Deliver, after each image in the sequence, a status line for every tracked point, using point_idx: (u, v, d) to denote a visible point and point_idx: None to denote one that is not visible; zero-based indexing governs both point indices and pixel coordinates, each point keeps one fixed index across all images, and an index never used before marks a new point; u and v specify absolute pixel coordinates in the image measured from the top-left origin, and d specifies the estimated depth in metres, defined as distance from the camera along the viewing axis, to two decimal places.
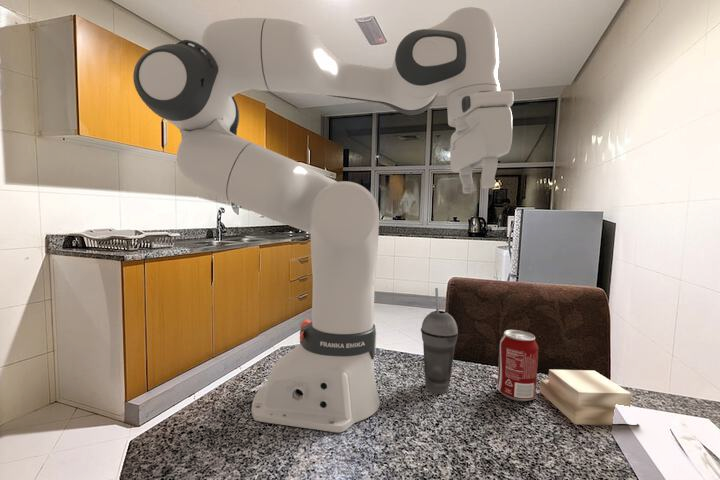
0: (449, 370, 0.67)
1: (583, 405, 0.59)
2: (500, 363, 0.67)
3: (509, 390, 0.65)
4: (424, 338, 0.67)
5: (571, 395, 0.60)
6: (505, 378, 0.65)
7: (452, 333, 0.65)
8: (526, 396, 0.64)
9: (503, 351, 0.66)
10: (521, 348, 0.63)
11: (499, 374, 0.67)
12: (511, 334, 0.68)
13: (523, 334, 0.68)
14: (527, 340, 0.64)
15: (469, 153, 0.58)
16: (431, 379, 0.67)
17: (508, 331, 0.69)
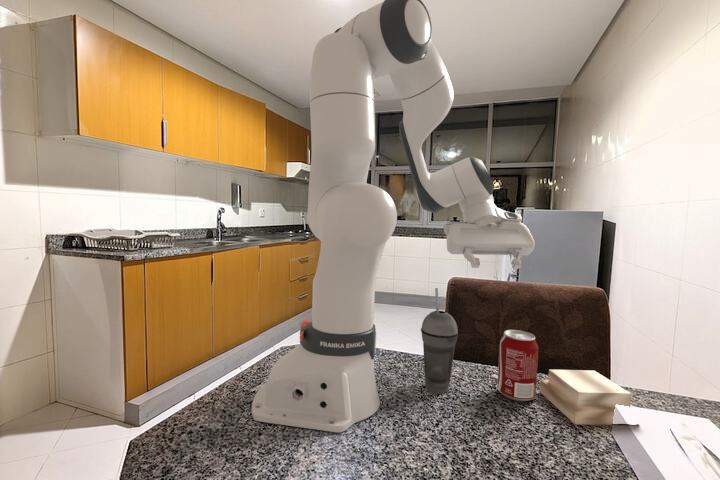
0: (449, 370, 0.67)
1: (583, 405, 0.59)
2: (500, 363, 0.67)
3: (509, 390, 0.65)
4: (424, 338, 0.67)
5: (571, 395, 0.60)
6: (505, 379, 0.65)
7: (452, 333, 0.65)
8: (526, 396, 0.64)
9: (503, 351, 0.66)
10: (521, 348, 0.63)
11: (499, 374, 0.67)
12: (511, 334, 0.68)
13: (523, 334, 0.68)
14: (527, 340, 0.64)
15: (501, 240, 0.81)
16: (431, 379, 0.67)
17: (508, 331, 0.69)
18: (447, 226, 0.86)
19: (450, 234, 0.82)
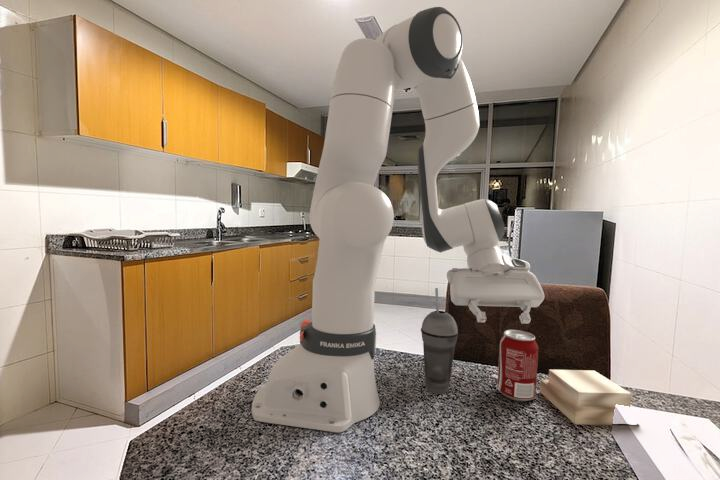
0: (449, 370, 0.67)
1: (583, 405, 0.59)
2: (500, 363, 0.67)
3: (509, 390, 0.65)
4: (424, 338, 0.67)
5: (571, 395, 0.60)
6: (505, 379, 0.65)
7: (452, 333, 0.65)
8: (526, 396, 0.64)
9: (503, 351, 0.66)
10: (521, 348, 0.63)
11: (499, 374, 0.67)
12: (511, 334, 0.68)
13: (523, 334, 0.68)
14: (527, 340, 0.64)
15: (509, 292, 0.76)
16: (431, 379, 0.67)
17: (508, 331, 0.69)
18: (451, 273, 0.81)
19: (454, 284, 0.77)
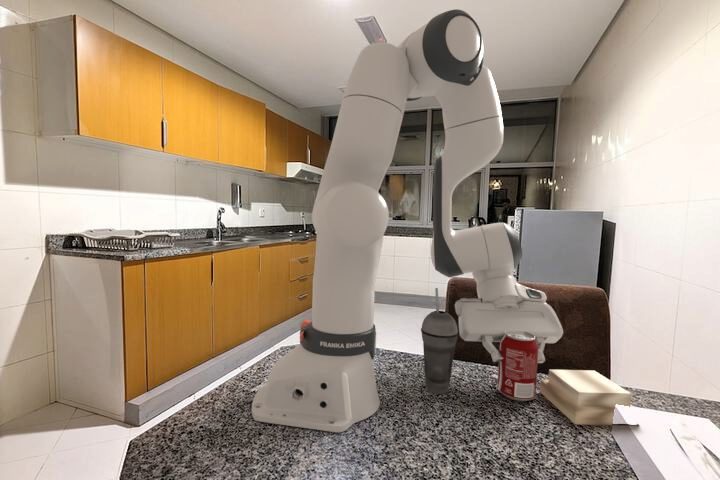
0: (449, 370, 0.67)
1: (583, 405, 0.59)
2: (500, 363, 0.67)
3: (509, 390, 0.65)
4: (424, 338, 0.67)
5: (571, 395, 0.60)
6: (505, 378, 0.65)
7: (452, 333, 0.65)
8: (526, 395, 0.64)
9: (503, 351, 0.66)
10: (521, 348, 0.63)
11: (499, 374, 0.67)
12: (511, 334, 0.68)
13: (523, 334, 0.68)
14: (527, 340, 0.64)
15: (524, 327, 0.69)
16: (431, 379, 0.67)
17: None
18: (459, 304, 0.74)
19: (463, 317, 0.70)
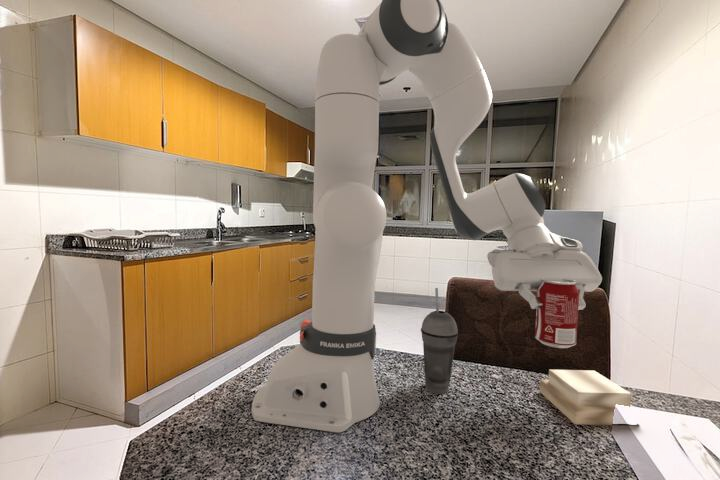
0: (449, 370, 0.67)
1: (583, 405, 0.59)
2: (539, 310, 0.65)
3: (549, 336, 0.63)
4: (424, 338, 0.67)
5: (571, 395, 0.60)
6: (545, 325, 0.63)
7: (452, 333, 0.65)
8: (568, 341, 0.62)
9: (542, 297, 0.64)
10: (562, 292, 0.61)
11: (537, 322, 0.65)
12: (549, 281, 0.65)
13: (561, 281, 0.66)
14: (568, 284, 0.62)
15: (561, 274, 0.67)
16: (431, 379, 0.67)
17: None
18: (492, 255, 0.71)
19: (499, 266, 0.68)
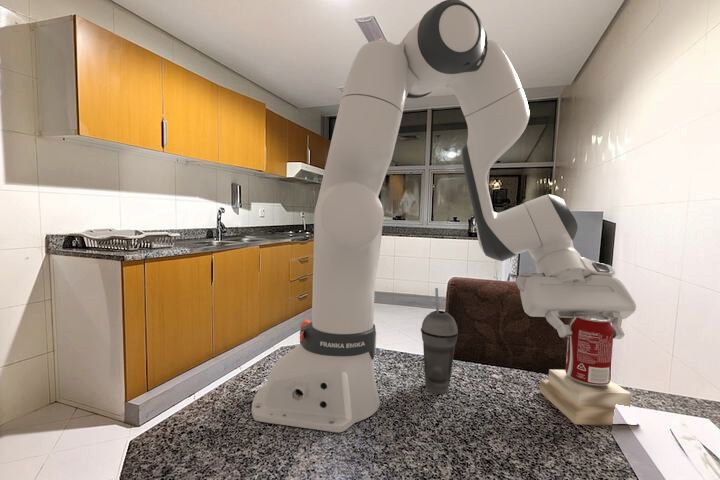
0: (449, 370, 0.67)
1: (583, 405, 0.59)
2: (570, 346, 0.63)
3: (581, 375, 0.61)
4: (424, 338, 0.67)
5: (571, 395, 0.60)
6: (577, 363, 0.61)
7: (452, 333, 0.65)
8: (601, 381, 0.60)
9: (574, 333, 0.62)
10: (596, 330, 0.59)
11: (569, 358, 0.63)
12: (581, 316, 0.64)
13: (594, 316, 0.64)
14: (602, 321, 0.60)
15: (594, 301, 0.65)
16: (431, 379, 0.67)
17: (577, 313, 0.65)
18: (521, 279, 0.69)
19: (529, 292, 0.66)
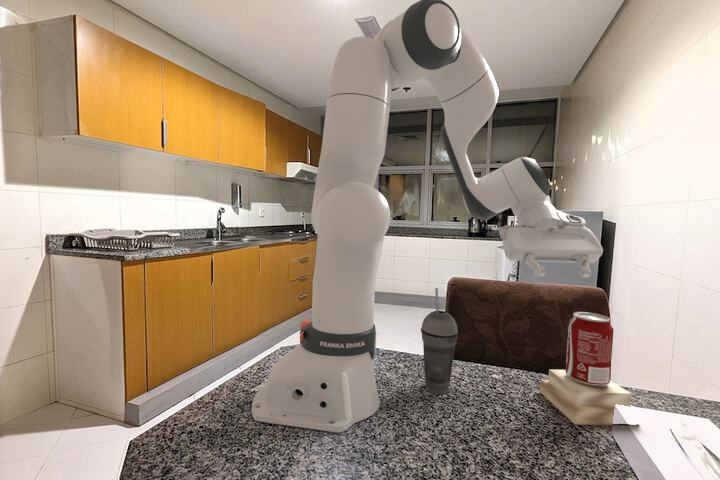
0: (449, 370, 0.67)
1: (583, 405, 0.59)
2: (570, 346, 0.63)
3: (581, 375, 0.61)
4: (424, 338, 0.67)
5: (571, 395, 0.60)
6: (577, 362, 0.61)
7: (452, 333, 0.65)
8: (601, 381, 0.60)
9: (574, 333, 0.62)
10: (596, 329, 0.59)
11: (569, 358, 0.63)
12: (581, 316, 0.64)
13: (594, 316, 0.64)
14: (602, 321, 0.60)
15: (566, 246, 0.74)
16: (431, 379, 0.67)
17: (577, 313, 0.65)
18: (503, 230, 0.79)
19: (509, 239, 0.75)
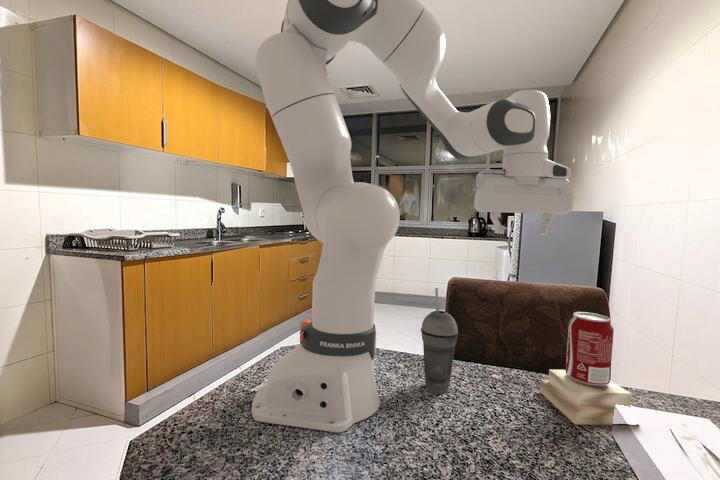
0: (449, 370, 0.67)
1: (583, 405, 0.59)
2: (570, 346, 0.63)
3: (582, 375, 0.61)
4: (424, 338, 0.67)
5: (571, 395, 0.60)
6: (577, 362, 0.61)
7: (452, 333, 0.65)
8: (601, 381, 0.60)
9: (574, 333, 0.62)
10: (596, 329, 0.59)
11: (569, 358, 0.63)
12: (581, 316, 0.64)
13: (594, 316, 0.64)
14: (602, 321, 0.60)
15: (536, 205, 0.73)
16: (431, 379, 0.67)
17: (577, 313, 0.65)
18: (481, 177, 0.74)
19: (481, 194, 0.73)
